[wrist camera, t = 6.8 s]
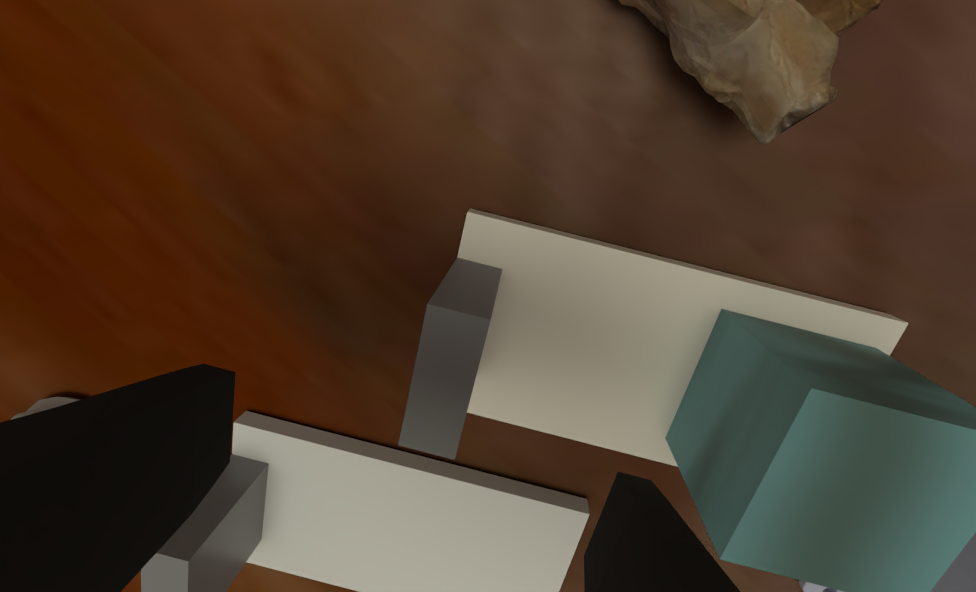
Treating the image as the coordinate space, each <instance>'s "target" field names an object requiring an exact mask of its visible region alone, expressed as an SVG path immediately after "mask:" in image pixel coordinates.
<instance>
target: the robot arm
mask: <svg viewBox="0 0 976 592" xmlns="http://www.w3.org/2000/svg"><path fill="white" fill-rule="evenodd" d="M234 386H235V372H233V371H229V370H225V369H221V368H217V367H213V366H210V365H206V364H201V365H197V366H192V367H188V368H184V369H181V370H177V371H174V372H170V373H167V374H163V375H160V376H156V377H153V378H150V379H147V380H143V381H140V382H137V383H134V384H130V385H127V386H124V387H121V388H117V389H114V390H111V391H107V392H104V393H101V394H98V395H94V396H91V397H88V398H85V399H81V400H78V401H75V402H71V403H68V404H65V405H62V406H58V407H55V408H51V409H48V410H44V411H41V412H37V413H33V414H30V415H26V416H23V417H19V418H15V419H12V420H8V421H5V422H1V423H0V592H121V591H122V589H123V588H124V587H125V586H126V585H127V584H128V583H129V582H130V581H131V580H132V579H133V578H134V577H135V576H136V574H137V573H138V572H139V571H140V570H141V569H142V568H143V567H144V566H145V565H146V564H147V563H148V562H149V560H150V559H151V558H152V557H153V556H154V555H155V554H156V553H157V552H158V551H159V550H160V549H161V547H162V546H163V545H164V544H165V543H166V542H167V541H168V540H169V539H170V538H171V536H172V535H173V534H174V533H175V532H176V531H177V530H178V529H179V528H180V527H181V526H182V524H183V523H184V522H185V521H186V520H187V519H188V518H189V517H190V516H191V514H192V513H193V512H194V511H195V509H196V508H197V507H198V505H199V504H200V503H201V501H202V500H203V499H204V498H205V496H206V495H207V494H208V492H209V491H210V490H211V488H212V487H213V485H214V484H215V482H216V481H217V480H218V478H219V477H220V475H221V474H222V473H223V471H224V470H225V468H226V467H227V466H228V464H229V463H230V452H231V435H232V419H233V402H234ZM584 577H585V592H740V591H739V589H738V588H737V587H736V586H735V585H734V583H733V582H732V581H731V580H730V578H729V577H728V576H727V575H726V573H725V572H724V571H723V570H722V568H721V567H720V566H719V565H718V564H717V562H716V561H715V560H714V558H713V557H712V556H711V555H710V553H709V552H708V551H707V550H706V548H705V547H704V546H703V545H702V543H701V542H700V541H699V539H698V538H697V537H696V536H695V534H694V533H693V532H692V530H691V529H690V528H689V527H688V525H687V524H686V523H685V522H684V520H683V519H682V518H681V516H680V515H679V514H678V513H677V511H676V510H675V509H674V508H673V506H672V505H671V504H670V502H669V501H668V500H667V499H666V497H665V496H664V495H663V494H662V493H661V491H660V490H659V489H658V488H657V487H656V485H655V484H654V483H653V482H652V481H651V480H648V479H644V478H640V477H636V476H632V475H629V474H625V473H621V472H618V473H617V476H616V478H615V481H614V483H613V486H612V488H611V491H610V493H609V496H608V498H607V501H606V503H605V505H604V508H603V510H602V513H601V515H600V518H599V520H598V523H597V525H596V528H595V530H594V533H593V535H592V538H591V540H590V542H589V545H588V547H587V550H586V552H585V555H584ZM799 585H800V587H801V589H802V590H803V592H844V591H840V590H836V589H832V588H828V587H824V586H821V585H817V584H813V583H809V582H805V581H801V580H799ZM930 592H976V533H975V534H974V535H973V536H972V538H971V539H970V540H969V542H968V543H967V544H966V546H965V547H964V548H963V550H962V551H961V552H960V553H959V555H958V556H957V557H956V559H955V560H954V561H953V563H952V564H951V565H950V567H949V568H948V569H947V570H946V572H945V573H944V574H943V576H942V577H941V578H940V580H939V581H938V582H937V584H936V585H935V586H934V587H933V589H932V590H931V591H930Z"/></svg>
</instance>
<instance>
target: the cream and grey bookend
mask: <svg viewBox="0 0 976 592" xmlns="http://www.w3.org/2000/svg"><path fill="white" fill-rule="evenodd" d="M589 515H590V514H589V508H588V501H587V499H585V498H581V497H577V496H574V495H570V494H566V493H562V492H558V491H554V490H550V489H546V488H543V487H539V486H535V485H531V484H527V483H523V482H519V481H515V480H512V479H508V478H504V477H500V476H496V475H492V474H488V473H485V472H481V471H477V470H473V469H469V468H465V467H461V466H457V465H454V464H450V463H446V462H442V461H438V460H434V459H430V458H427V457H423V456H419V455H415V454H411V453H407V452H403V451H399V450H396V449H392V448H388V447H384V446H380V445H376V444H372V443H368V442H365V441H361V440H357V439H353V438H349V437H345V436H341V435H338V434H334V433H330V432H326V431H322V430H318V429H314V428H310V427H307V426H303V425H299V424H295V423H291V422H287V421H283V420H280V419H276V418H272V417H268V416H264V415H260V414H256V413H252V412H249V411H245V412H244V413H243V414H242V415H241V416H240V417H239V418H238V419H237V420H236V421H235V422H234V428H233V444H232V454H231V455H230V463H229V464H228V466H227V467H226V468H225V470H224V471H223V473H222V474H221V475H220V477H219V478H218V480H217V481H216V482H215V484H214V485H213V487H212V488H211V490H210V491H209V492H208V494H207V495H206V496H205V498H204V499H203V500H202V501H201V503H200V504H199V505H198V507H197V508H196V509H195V511H194V512H193V513H192V514H191V516H190V517H189V518H188V519H187V520H186V521H185V522H184V523H183V524H182V526H181V527H180V528H179V529H178V530H177V531H176V532H175V533H174V534H173V535H172V536H171V538H170V539H169V540H168V541H167V542H166V543H165V544H164V545H163V546H162V547H161V549H160V550H159V551H158V552H157V553H156V554H155V555H154V556H153V557H152V558H151V559H150V560H149V562H148V563H147V564H146V565H145V566H144V567H143V568H142V569H141V592H226V591H227V589H228V588H229V587H230V585H231V584H232V582H233V581H234V579H235V578H236V576H237V575H238V573H239V572H240V570H241V569H242V567H243V566H244V564H245V563H246V562H248V563H252V564H256V565H260V566H264V567H267V568H271V569H275V570H279V571H283V572H286V573H290V574H294V575H298V576H302V577H306V578H309V579H313V580H317V581H321V582H325V583H328V584H332V585H336V586H340V587H344V588H348V589H351V590H355V591H359V592H559V590H560V588H561V585H562V583H563V580H564V578H565V575H566V573H567V570H568V568H569V565H570V563H571V560H572V558H573V555H574V552H575V550H576V547H577V545H578V542H579V540H580V537H581V535H582V532H583V530H584V527H585V525H586V522H587V520H588V517H589Z"/></svg>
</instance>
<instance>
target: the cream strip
mask: <svg viewBox="0 0 976 592" xmlns="http://www.w3.org/2000/svg"><path fill="white" fill-rule="evenodd" d="M721 309H725V310H729V311H733V312H736V313H740V314H744V315H748V316H752V317H756V318H760V319H764V320H768V321H772V322H776V323H780V324H784V325H788V326H792V327H796V328H800V329H804V330H808V331H811V332H815V333H819V334H823V335H827V336H831V337H835V338H839V339H843V340H847V341H851V342H855V343H859V344H863V345H867V346H871V347H875V348H877V349H879V350H881V351H882V352H884V353H886V354H887V355H889V356H890V354H891V353H892V351H893V349H894V347H895V346H896V344H897V342H898V341H899V339H900V337H901V336H902V334H903V332H904V330H905V329H906V327H907V325H908V324H909V323H907V322H905V321H903V320H901V319H899V318H897V317H894V316H892V315H890V314H887V313H883V312H879V311H875V310H871V309H867V308H863V307H859V306H855V305H851V304H847V303H843V302H839V301H836V300H832V299H828V298H824V297H820V296H816V295H812V294H808V293H804V292H800V291H796V290H792V289H788V288H784V287H780V286H776V285H772V284H768V283H764V282H760V281H756V280H752V279H748V278H744V277H741V276H737V275H733V274H729V273H725V272H721V271H717V270H713V269H709V268H705V267H701V266H697V265H693V264H689V263H685V262H681V261H677V260H673V259H669V258H665V257H661V256H657V255H653V254H650V253H646V252H642V251H638V250H634V249H630V248H626V247H622V246H618V245H614V244H610V243H606V242H602V241H598V240H594V239H590V238H586V237H582V236H578V235H574V234H570V233H566V232H562V231H558V230H555V229H551V228H547V227H543V226H539V225H535V224H531V223H527V222H523V221H519V220H515V219H511V218H507V217H503V216H499V215H495V214H491V213H487V212H483V211H479V210H475V209H471V208H470V209H469V210H468V212H467V215H466V220H465V225H464V229H463V234H462V238H461V243H460V247H459V252H458V256H457V259H456V260H455V262H454V263H453V265H452V266H451V268H450V269H449V271H448V272H447V274H446V276H445V277H444V279H443V280H442V282H441V283H440V285H439V286H438V288H437V290H436V291H435V293H434V294H433V296H432V297H431V299H430V300H429V302H428V303H427V308H426V313H425V317H424V322H423V327H422V332H421V337H420V342H419V347H418V351H417V356H416V361H415V366H414V371H413V376H412V381H411V386H410V390H409V395H408V400H407V405H406V410H405V415H404V420H403V425H402V429H401V434H400V439H399V444H398V445H399V446H403V447H407V448H411V449H414V450H418V451H422V452H426V453H430V454H434V455H438V456H442V457H445V458H449V459H453V460H455V457H456V453H457V449H458V445H459V441H460V437H461V433H462V429H463V426H464V422H465V418H466V414H467V413H471V414H475V415H479V416H483V417H487V418H490V419H494V420H498V421H502V422H506V423H510V424H514V425H518V426H522V427H525V428H529V429H533V430H537V431H541V432H545V433H549V434H553V435H557V436H560V437H564V438H568V439H572V440H576V441H580V442H584V443H588V444H592V445H595V446H599V447H603V448H607V449H611V450H615V451H619V452H623V453H627V454H630V455H634V456H638V457H642V458H646V459H650V460H654V461H658V462H661V463H665V464H669V465H673V466H677V467H678V465H677V463H676V461H675V459H674V457H673V454H672V452H671V450H670V448H669V445H668V443H667V441H666V439H665V437H666V435H667V433H668V431H669V428H670V426H671V424H672V421H673V419H674V417H675V414H676V412H677V410H678V408H679V405H680V403H681V401H682V398H683V396H684V394H685V391H686V389H687V387H688V385H689V382H690V380H691V378H692V375H693V373H694V371H695V368H696V366H697V364H698V361H699V359H700V357H701V355H702V352H703V350H704V348H705V345H706V343H707V341H708V338H709V336H710V334H711V332H712V329H713V327H714V325H715V322H716V320H717V318H718V315H719V313H720V311H721Z"/></svg>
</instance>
